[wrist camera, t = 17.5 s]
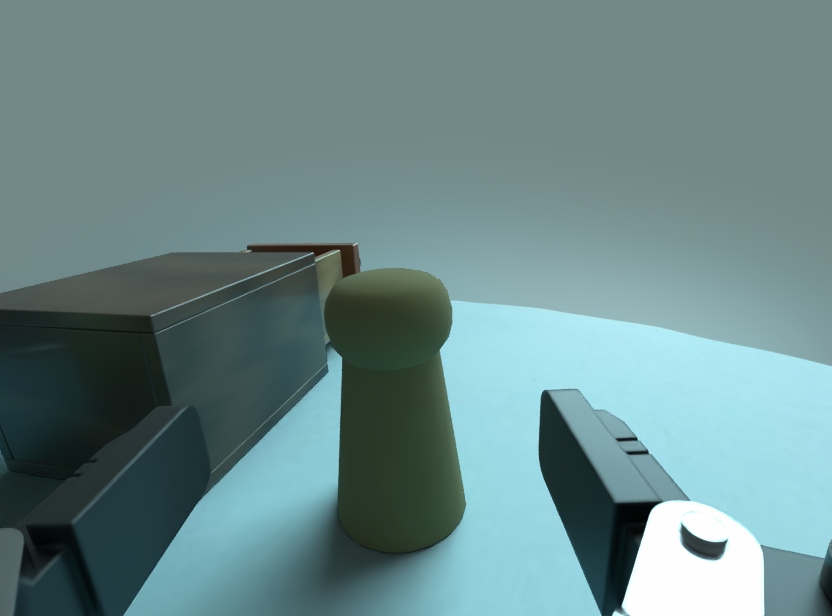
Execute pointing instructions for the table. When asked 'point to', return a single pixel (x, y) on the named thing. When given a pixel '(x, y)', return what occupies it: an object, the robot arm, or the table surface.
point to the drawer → (322, 264)
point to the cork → (394, 410)
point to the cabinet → (157, 354)
